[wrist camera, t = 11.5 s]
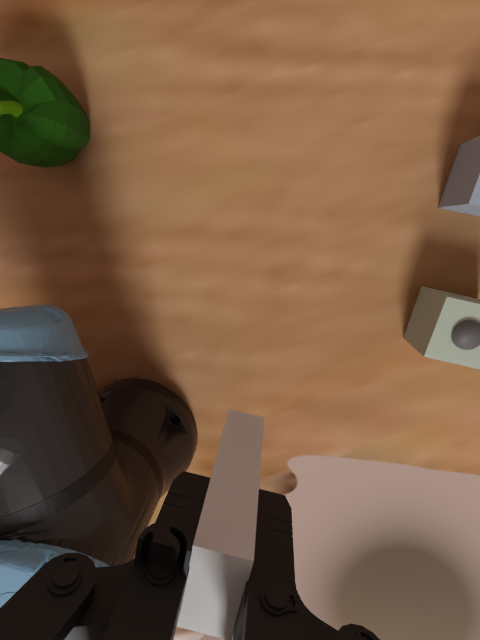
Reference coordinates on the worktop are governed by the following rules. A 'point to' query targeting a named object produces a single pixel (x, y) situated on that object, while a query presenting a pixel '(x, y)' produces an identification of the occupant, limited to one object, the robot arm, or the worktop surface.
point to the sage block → (446, 327)
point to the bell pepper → (39, 116)
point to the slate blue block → (464, 180)
